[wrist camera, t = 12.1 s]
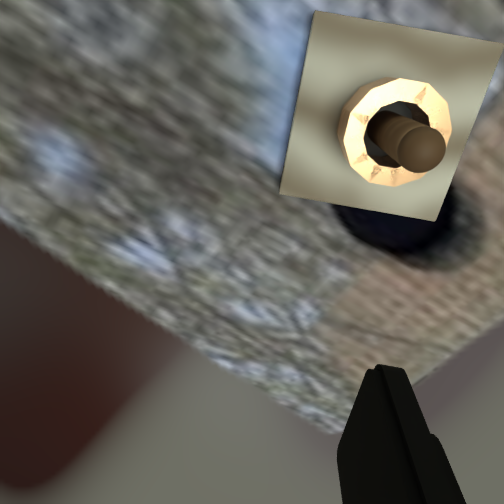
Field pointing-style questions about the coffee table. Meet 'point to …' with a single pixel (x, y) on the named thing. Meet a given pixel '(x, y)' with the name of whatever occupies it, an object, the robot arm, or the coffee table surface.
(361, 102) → the beige thick ring
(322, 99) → the post board
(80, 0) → the coffee table surface
